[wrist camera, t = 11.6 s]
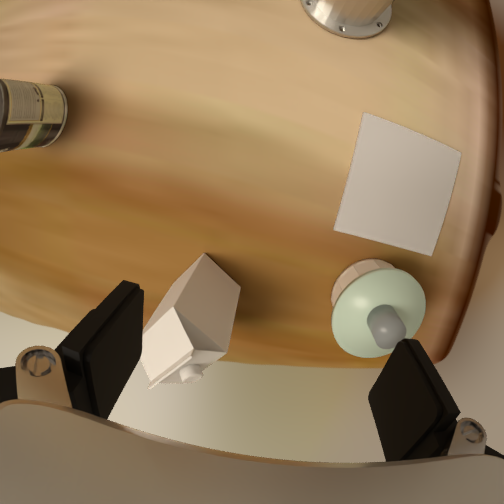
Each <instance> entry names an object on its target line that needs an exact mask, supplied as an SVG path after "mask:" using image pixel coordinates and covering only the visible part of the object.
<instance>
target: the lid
mask: <svg viewBox="0 0 504 504" xmlns="http://www.w3.org/2000/svg"><path fill="white" fill-rule="evenodd" d="M425 309H426V300H425V295H424V292H423V289H422V287H421V286H420V284H419V283H418V282H417V281H416V280H415V279H414V278H413V277H412V276H411V275H410V274H408V273H407V272H405V271H403V270H400V269H396V268H379V269H375V270H371V271H369V272H366V273H364V274H362V275H360V276H359V277H357V278H356V279H354V280H353V281H352V282H351V283H349V284H348V285H347V286H346V287H345V288H344V290H343V291H342V292H341V293H340V295H339V297H338V298H337V300H336V302H335V304H334V307H333V310H332V316H331V325H332V330H333V333H334V337H335V339H336V341H337V343H338V344H339V345H340V347H341V348H342V349H344V350H345V351H346V352H348V353H350V354H352V355H354V356H358V357H363V358H374V357H380V356H383V355H387V354H389V353H391V352H393V350H394V348H395V346H396V344H397V343H398V342H399V341H401V340H402V339H404V338H408V339H411V338H412V337H413V336H414V334H415V333H416V332H417V330H418V329H419V327H420V325H421V323H422V320H423V318H424V314H425Z"/></svg>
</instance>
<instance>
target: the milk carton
mask: <svg viewBox="0 0 504 504" xmlns="http://www.w3.org/2000/svg"><path fill="white" fill-rule="evenodd" d="M240 289H241V287H240V286H239V285H238V284H237V283H236V282H235V281H234V280H233V279H232V278H230V277H229V276H228V275H227V274H226V273H225V272H224V271H223V270H222V269H221V268H220V267H219V266H218V265H217V264H216V263H215V262H214V261H212V260H211V259H210V258H209V257H208V256H207V255H206V254H205V253H204V254H202V255H201V256H200V257H199V258H198V259H197V260H196V261H195V262H194V263H193V264H192V265H191V266H190V267H189V268H188V269H187V270H186V271H185V272H184V273H183V274H182V275H181V276H180V277H179V278H178V279H177V280H176V281H175V282H174V283H173V285H172V286H171V288H170V289H169V291H168V292H167V294H166V295H165V297H164V298H163V300H162V301H161V303H160V304H159V306H158V307H157V309H156V310H155V312H154V314H153V315H152V317H151V318H150V320H149V321H148V323H147V324H146V326H145V328H144V329H143V335H142V354H141V357H140V359H141V361H142V364H143V365H144V368H145V371H146V373H147V375H148V377H149V380H150V384H149V386H148V388H147V389H151V388H152V387H153V386H155V385H156V384H158V383H192V382H195V381H197V380H199V379H201V378H202V377H203V373H202V371H203V370H204V369H205V368H207V367H208V366H210V365H211V364H212V363H214V362H215V361H217V360H218V359H219V358H221V357H222V356H223V355H225V354H226V353H227V351H228V347H229V342H230V337H231V332H232V327H233V323H234V318H235V313H236V308H237V303H238V299H239V294H240Z"/></svg>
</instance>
